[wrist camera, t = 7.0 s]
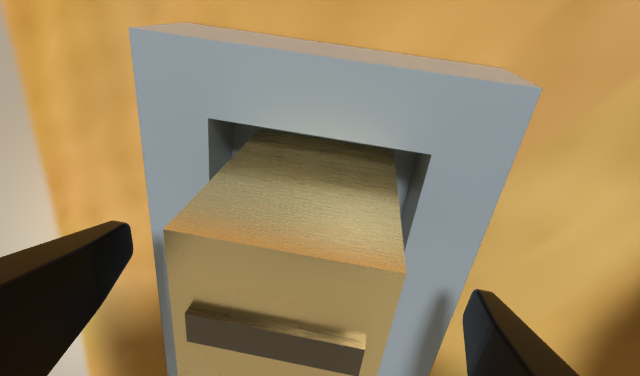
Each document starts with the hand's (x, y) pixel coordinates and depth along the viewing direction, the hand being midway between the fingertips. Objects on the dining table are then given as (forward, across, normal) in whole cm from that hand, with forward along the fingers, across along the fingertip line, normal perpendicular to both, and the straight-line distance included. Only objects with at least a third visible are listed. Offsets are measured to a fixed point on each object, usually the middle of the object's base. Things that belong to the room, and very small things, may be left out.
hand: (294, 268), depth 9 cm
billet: (+4, 0, 0) cm, 4 cm away
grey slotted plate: (+5, 0, +6) cm, 8 cm away
